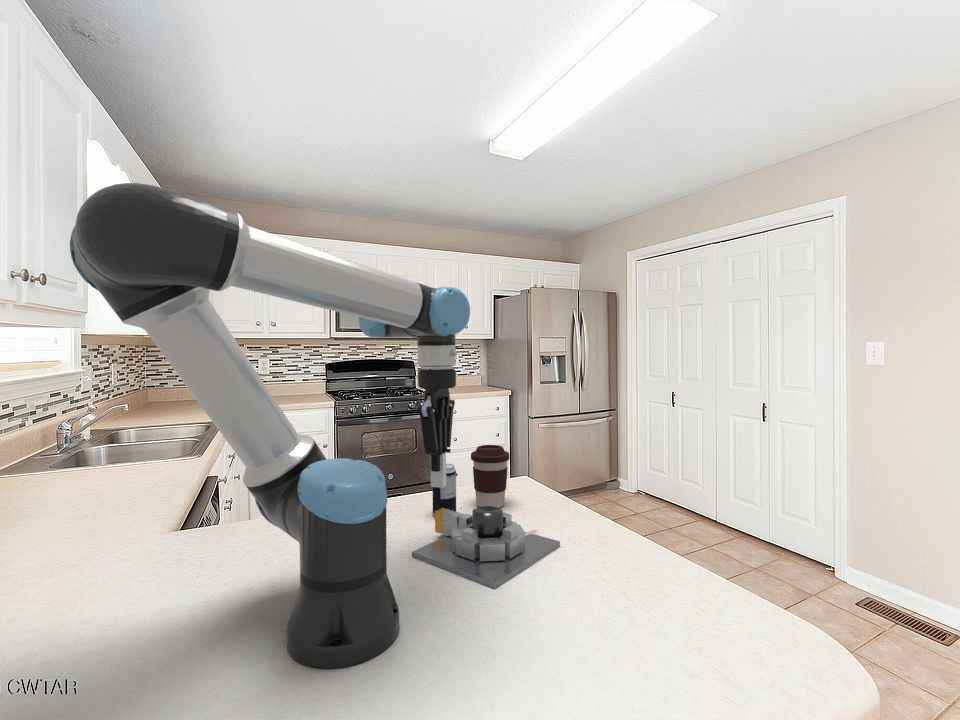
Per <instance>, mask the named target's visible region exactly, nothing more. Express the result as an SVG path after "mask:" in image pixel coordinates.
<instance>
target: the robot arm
mask: <svg viewBox="0 0 960 720" xmlns="http://www.w3.org/2000/svg"><path fill="white" fill-rule="evenodd" d="M69 251H70V257H71V261H72V263H73V265H74V267H75V270H76V271H77V273H78V274H79V276H80V277H81V278H82V279H83V280H84V281H85V283H87V284H89V285H90V286H91V287H92V288H93V289H95V290H96V291H97V292H99V293H100V295H101V296H102V297H103V298H104V300H105V301H106V302H107V304H108V305H109V306H110V308H111V310H113V312H114V313H115V315H117V317H118V318H119V319H120V320H121V322H122V323H123V324H124V325H129V326H132V327H136V328H140V329H142V330H144V331H145V333H146V334H147V335H148V336H149V338H150V340H152V342H153V343H154V345H155V346H156V347H157V349H158V350H159V352H160V353H161V354H162V355H163V356H164V358H165V359H166V362H168V363H169V365H170V366H171V368H172V369H173V370H174V371H175V372H176V374H177V376H178V377H179V378H180V381H182V383H183V384H184V386H186V388H187V389H188V391H190V394H191V395H192V396H193V398H194V399H195V400H196V401H197V403H198V404H199V406H200V407H201V408H202V410H203V411H204V412H205V414H206V415H207V416H208V418H209V419H210V420H211V422H212V424H214V426H215V427H216V429H217V430H218V431H219V432H220V434H221V435H222V437H223V438H224V439H225V441H226V442H227V444H228V445H229V446H230V447H231V449H232V450H233V452H234V453H235V454H236V455H237V457H238V458H239V459H240V461H241V462H242V464H243V465H244V466H245V470H244V473H243V477H242V483H243V484H244V485H245V487H246V488H247V490H248V491H249V492H250V494H251V495H252V496H253V497H254V500H255V504H256V507H257V509H258V511H259V513H260V514H261V516H263V518H264V519H265V520H266V521H267V522H268V523H270V524H272V526H274V527H277V528H278V529H280V530H282V531H283V532H284V533H286V534H287V535H289V536H290V538H292V539H293V540H295V541H296V542H298V545H299V575H300V576H299V587H298V591H297V593H296V596H295V601H294V603H293V608H292V611H291V615H290V618H289V620H288V622H287V626H286V627H287V628H286V648H287V653H289V655H290V656H291V657H292V658H293V660H295V661H297V662H298V663H301V664H303V665H306V666H309V667H314V668H322V669H323V668H324V669H325V668H326V669H328V668H329V669H332V668H343V667H347V666H353V665H356V664H360V663H362V662H365V661H368V660H370V659H372V658H374V657H376V656H378V655H380V654H381V653H382V652H384V651H385V650H386V649H387V648H389V647H390V646H391V645H392V644H393V643H394V642H395V640H396V639H397V637H398V634H399V632H400V609H399V605H398V603H397V599H396V596H395V593H394V591H393V587H392V585H391V583H390V579H389V577H388V576H389V575H388V572H387V504H388V493H387V491H388V490H387V486H386V485H387V484H386V477H385V475H384V473H383V471H382V470H381V468H379V467H378V466H377V465H375V464H373V463H371V462H369V461H365V460H361V459H356V460H354V459H353V458H348V457H346V458H344V457H343V458H329V459H327V458H326V456H325V455H324V453H323V451H322V450H321V449H320V446H318V444H317V442H316V441H315V440H314V438H313V437H312V436H311V435H308V434H307V435H306V434H300V433H298V432H297V430H296V429H295V427H294V426H293V425H292V423H291V421H290V420H289V419H288V417H287V416H286V414H285V413H284V411H283V409H282V407H280V405H279V403H278V402H277V400H276V399H275V398H274V396H273V394H272V392H271V391H270V390H269V388H268V387H267V386H266V384H265V382H264V381H263V379H262V378H261V377H260V375H259V373H258V372H257V370H256V369H255V367H254V366H253V364H252V363H251V362H250V360H249V358H248V357H247V355H246V354H245V352H244V350H242V348H241V345H239V343H238V342H237V340H236V339H235V337H234V335H233V334H232V333H231V331H230V330H229V328H228V326H227V325H226V324H225V322H224V320H223V318H221V316H220V314H219V313H218V311H217V310H216V309H215V307H214V305H213V304H212V302H211V301H210V296H209V295H210V292H211V290H212V291H215V292H222V291H224V290H226V289H229V288H231V287H235V288H238V289H243V290H246V291H251V292H254V293H259V294H262V295H267V296H271V297H276V298H280V299H283V300H288V301H292V302H295V303H299V304H304V305H308V306H312V307H316V308H319V309H324V310H329V311H332V312H336V313H341V314H344V315H349V316H353V317H357V318H358V324H359V328H360V330H361V332H362V333H363V334H364V335H365V336H367V337H369V338H379V339H384V338H392V339H394V338H395V339H399V338H413V339H414V338H416V342H417V367H418V368H419V367H420V369H418V371H417V386H418V387H419V389H424V397H423V400H424V404H423V405H419V406H418V408H417V411H418V415H419V418H420V424H421V425H420V426H421V432H422V440H423V447H424V448H423V449H424V453H425V455H430V488H433V487H439V488H444V487H445V486H446V464H447V454H446V453H451V452H452V451H451V450H452V449H451V448H450V447H451V444H452V442H451V441H452V433H453V431H452V430H453V420H454V418H453V417H454V408H455V405H456V404H455V403H456V401H455V399H451V397H450V396H451V395H450V389H453V388H456V386H457V370H456V368H453V367H455V366H456V361H457V360H456V356H458V351H457V350H456V334H459V333H461V332H462V331H463V330H464V329H466V327H467V326H468V323H469V321H470V316H471V305H470V301H469V298H467V296H466V294H465V293H464V292H463V291H462V290H461V289H459V288H457V287H454V286H453V287H452V286H439V287H438V288H436V287H432V286H429V285H425V284H422V283H420V282H416V281H413V280H409V279H406V278H403V277H400V276H397V275H395V274H393V273H389V272H386V271H383V270H380V269H377V268H375V267H372V266H369V265H365V264H363V263H359V262H357V261H353V260H351V259H347V258H345V257H342V256H339V255H335V254H333V253H330V252H327V251H324V250H321V249H319V248H316V247H312V246H309V245H307V244H303V243H301V242H297V241H295V240H292V239H288V238H286V237H282V236H280V235H277V234H273V233H271V232H268V231H266V230H262V229H260V228H259V229H258V228H255V227H253V226H250V225H248V224H247V223H246V222H245V220H244V218H243V217H242V216H241V214H240V213H238V212H237V211H233V210H230V209H227V208H224V207H221V206H219V205H215V204H213V203H210V202H207V201H204V200H202V199H199V198H196V197H193V196H190V195H187V194H184V193H181V192H177V191H174V190H171V189H168V188H165V187H161V186H157V185H152V184H145V183H139V182H126V183H117V184H115V183H114V184H113V185H112V184H111V185H109V186H106V187H103V188H101V189H98V190H97V191H95V192H94V193H93V194H91V195H90V196H89V197H87V199H86V200H85V201H84V202H83V203H82V204H81V206H80V208H79V210H78V212H77V215H76V219H75V225H74V227H73V228H72V231H71V234H70V239H69Z"/></svg>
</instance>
